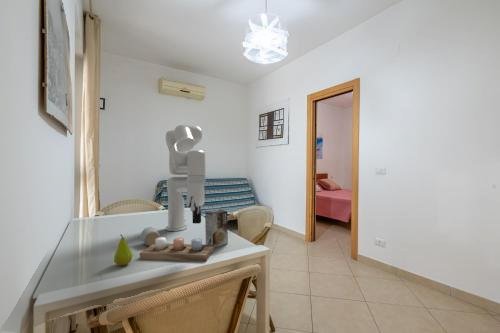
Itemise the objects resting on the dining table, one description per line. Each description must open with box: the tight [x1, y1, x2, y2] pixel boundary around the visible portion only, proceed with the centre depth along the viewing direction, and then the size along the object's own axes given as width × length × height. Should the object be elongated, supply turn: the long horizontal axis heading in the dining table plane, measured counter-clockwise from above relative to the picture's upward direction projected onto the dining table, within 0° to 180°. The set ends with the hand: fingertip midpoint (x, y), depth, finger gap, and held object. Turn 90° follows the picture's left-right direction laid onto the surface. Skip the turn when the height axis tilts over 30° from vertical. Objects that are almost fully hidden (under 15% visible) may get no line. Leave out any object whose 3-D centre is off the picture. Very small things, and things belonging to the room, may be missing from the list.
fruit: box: [113, 233, 133, 267], centre depth 88 cm, size 6×6×12 cm
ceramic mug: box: [140, 226, 161, 247], centre depth 112 cm, size 11×8×8 cm
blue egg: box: [190, 237, 203, 251], centre depth 97 cm, size 4×4×4 cm
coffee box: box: [204, 209, 229, 249], centre depth 111 cm, size 9×6×16 cm
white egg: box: [155, 236, 167, 250], centre depth 99 cm, size 4×4×4 cm
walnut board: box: [139, 242, 215, 262], centre depth 98 cm, size 12×28×2 cm, turn 84°
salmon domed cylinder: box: [172, 237, 185, 250], centre depth 98 cm, size 4×4×4 cm
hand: (196, 222), depth 97 cm, fingers closed
